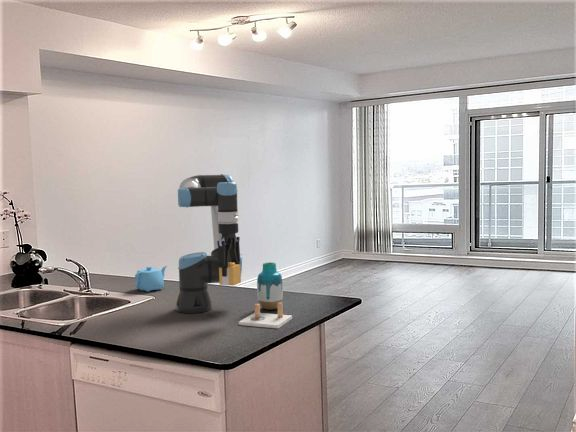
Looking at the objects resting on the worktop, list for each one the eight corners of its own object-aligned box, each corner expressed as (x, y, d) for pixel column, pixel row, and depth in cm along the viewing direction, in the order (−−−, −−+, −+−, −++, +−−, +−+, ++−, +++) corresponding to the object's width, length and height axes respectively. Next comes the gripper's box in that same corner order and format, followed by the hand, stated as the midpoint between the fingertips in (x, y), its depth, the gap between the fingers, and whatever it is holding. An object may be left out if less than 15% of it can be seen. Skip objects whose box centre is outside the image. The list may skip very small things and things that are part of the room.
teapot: (174, 288, 279) (174, 265, 278) (142, 294, 266) (141, 270, 265) (161, 284, 287) (160, 262, 286) (129, 290, 275) (128, 267, 274)
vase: (287, 307, 235) (286, 261, 233) (276, 313, 225) (275, 266, 224) (265, 305, 239) (263, 260, 238) (253, 311, 230) (251, 264, 228)
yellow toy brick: (219, 284, 213) (218, 263, 212) (227, 281, 218) (226, 261, 218) (233, 285, 211) (232, 264, 210) (240, 282, 216) (240, 261, 215)
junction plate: (238, 324, 210) (238, 307, 210) (254, 315, 223) (254, 298, 222) (278, 328, 204) (277, 310, 204) (292, 318, 217) (291, 301, 217)
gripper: (224, 225, 202) (226, 288, 204) (248, 220, 220) (250, 278, 222) (206, 225, 205) (209, 287, 207) (231, 220, 223) (233, 277, 225)
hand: (230, 282), depth 214 cm, fingers closed on yellow toy brick, 6 cm apart
